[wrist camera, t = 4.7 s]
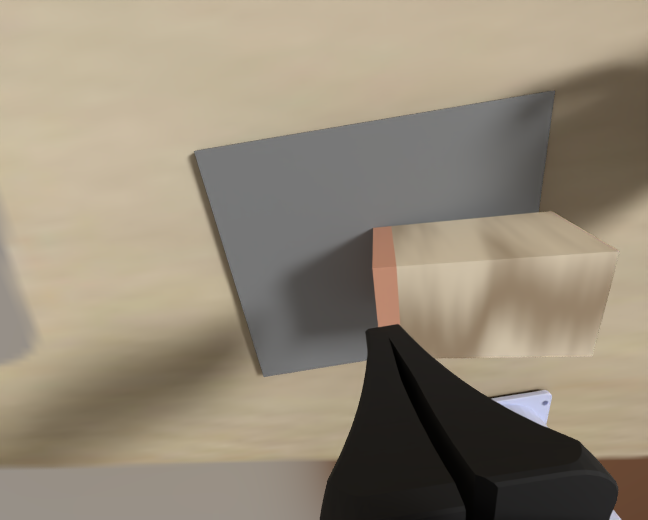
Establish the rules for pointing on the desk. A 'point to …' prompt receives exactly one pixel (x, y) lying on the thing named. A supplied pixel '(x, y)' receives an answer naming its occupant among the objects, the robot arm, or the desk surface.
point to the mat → (358, 212)
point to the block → (494, 285)
